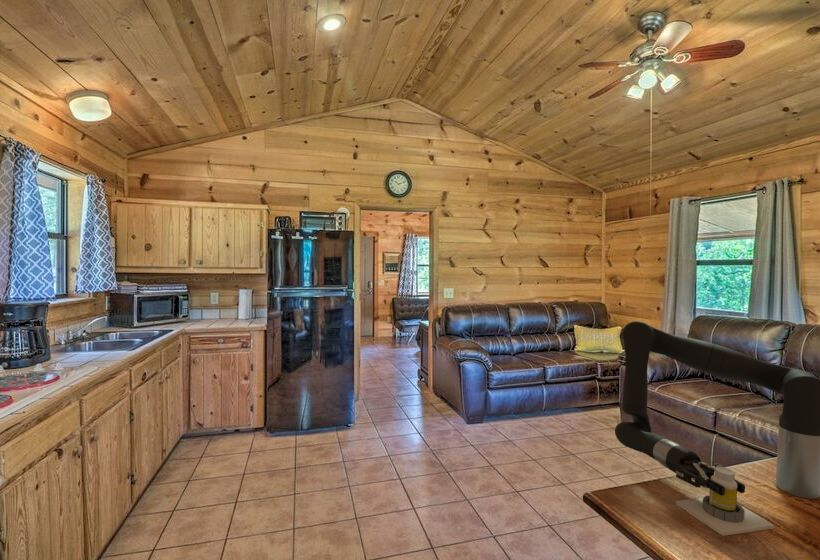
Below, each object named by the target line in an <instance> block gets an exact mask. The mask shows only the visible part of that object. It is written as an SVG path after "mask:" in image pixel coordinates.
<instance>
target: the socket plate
mask: <svg viewBox="0 0 820 560" xmlns="http://www.w3.org/2000/svg"><path fill="white" fill-rule="evenodd" d="M675 505H676V506H677V507H679V508H680V509H682V510H684V511H685V510H686V512H687V513H688V514H690V515H691V516H693V517H695V518H696V519H697V520H698V521H700V522H701V523H703V524H705V525H706V526H707V527H709V528H710V529H712V531H715V533H716V532H717V533H718V534H719V535H721V536H722V537H724V536H730V535H738V534H745V533H753V532H759V531H760V532H761V531H765V530H772V529H773V530H774V529H775V524H773V523H771V522H770V521H768V520H767V519H764V518H763V517H762V516H759V515H758V514H756V513H755V512H752V511H751V510H749V509H747V508H746V507H743V506H742V505H740V504H739V503H737V502H736V512H734V513H732V512H726V511H722V510H720V509H717V508H715V507H713V506H712V505H710V504H709V495H704V497H698V498H689V499H688V498H687V499H682V500H681V499H680V500H676V501H675Z"/></svg>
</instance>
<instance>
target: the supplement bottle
mask: <svg viewBox="0 0 820 560" xmlns="http://www.w3.org/2000/svg"><path fill="white" fill-rule="evenodd" d="M735 475H736V474H735V471H733V470H732V469H730V468H728V467H725V466H723V467H715V472H714V475H712V476H711V479H712V480H713V481H715V482H717V483H719V484H720V485H722V486H724V487H725V495H722V496H721V495H719V494H717V493H716V492H714V491H712V490H711V489H709V495H708V496H709V504H710V505H712V506H713V507H715V508H717V509H720V510H722V511H726V512H732V513H734V512H736V503H737V498H738V497H737V496H738V491H737V483H736V481H734V480H733V479H735Z"/></svg>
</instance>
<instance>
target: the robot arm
mask: <svg viewBox="0 0 820 560" xmlns="http://www.w3.org/2000/svg"><path fill="white" fill-rule="evenodd" d="M621 338H622V341H623V348H624V355H625V356H624V357H625V365H624V366H625V367H624V368H625V369H624V378H623V386H622V402H621V404H622V406H621V408H622V411H623V413H625V414H627V415H629V416H631V417H632V422H631V421H622V422H619V423H617V425H616V426H615V429H614V434H615V437H616V439H617V440H618V442H619V443H620V444H622V445H623V446H624V447H627V448H629V449H631V450H634V451H637V452H638V453H643V454H644V455H647V456H648V457H649V458H651V459H653V460H655V461H657V462H658V463H659V464H660V465H661V466H663V467H665V468H666V469H668V470H670V471H671V472H672V473H675V477H676V478H677V479H679V480H681V481H683V482H684V483H685V482H686V483H688V484H690V485H691V486H694V487H695V488H701V487H702V488H705V489H709V490H710V489H711V490H712V491H714V492H716V493H717V494H719V495H721V496H722V495H725V487H724V486H722V485H720V484H719V483H717V482H715V481H713V480H712V479H711V476H712V475H715V467H724V466H723V465H722V464H720V463H718V462H717V463H714V465H710V464H709V463H707V462H703V461H702V460H701V458H700V456H699V455H698V454H697V453H696V452H694V451H692V450H691V449H689V448H686V447H684V446H683V445H680V444H679V443H677V442H675V441H673V440H669V439H667V438H665V437H664V436H661V435H659V434H657V433H654V432H652V425H651V422H650V418H649V413H648V395H649V394H648V391H649V390H648V384H649V383H648V368H649V367H648V365H649V358H650V354H651V353H654V354H658V355H659V354H660V355H661V356H665V357H668V358H670V359H672V360H675V361H676V362H679V363H681V364H683V365H685V366H687V367H689V368H692V369H694V370H697V371H699V372H702V373H705V374H708V375H711V376H714V377H718V378H721V379H725V380H731V381H735V382H743V383H748V384H752V385H757V386H759V387H762V388H764V389H768V390H770V391H772V392H774V393H777V394H780V395H781V396H783V403H782V404H783V405H782V413H781V415H780V416H779V418H778V433H777V435H778V436H777V450H776V451H777V452H776V453H777V454H776V467H775V468H776V470H775V486H776V487H777V488H779V489H780V490H781V491H783V492H785V493H787V494H791V495H792V496H796V497H800V498H804V499H809V500H810V499H811V500H814V499H815V500H816V499H819V498H820V378H819V376H816V375H815V374H813V373H811V372H809V371H807V370H802V369H797V368H795V367H794V368H793V367H789V366H784V365H780V364H775V363H772V362H768V361H764V360H762V359H758V358H757V357H756V358H755V357H753V356H751V355H748V354H746V353H743V352H740V351H737V350H734V349H733V348H732V349H731V348H729V347H726V346H722V345H720V344H716V343H712V342H709V341H705V340H701V339H698V338H697V339H696V338H694V337H693V338H691V337H686V336H680V335H676V334H672V333H670V332H666V331H664V330H662V329H659V328H657V327H654V326H651V325H650V324H648V323H646V322H645V321H640V320H635V321H630V322H629V323H627V324H626V325H625V326H624V327H623V329H622V332H621ZM693 480H694V481H693ZM733 480H734V481H736V483H737V493H740V494H744V493H745V492H746V485H745V484H744V483H742V482H740V481H738V480H737V479H735V478H734V479H733Z"/></svg>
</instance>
